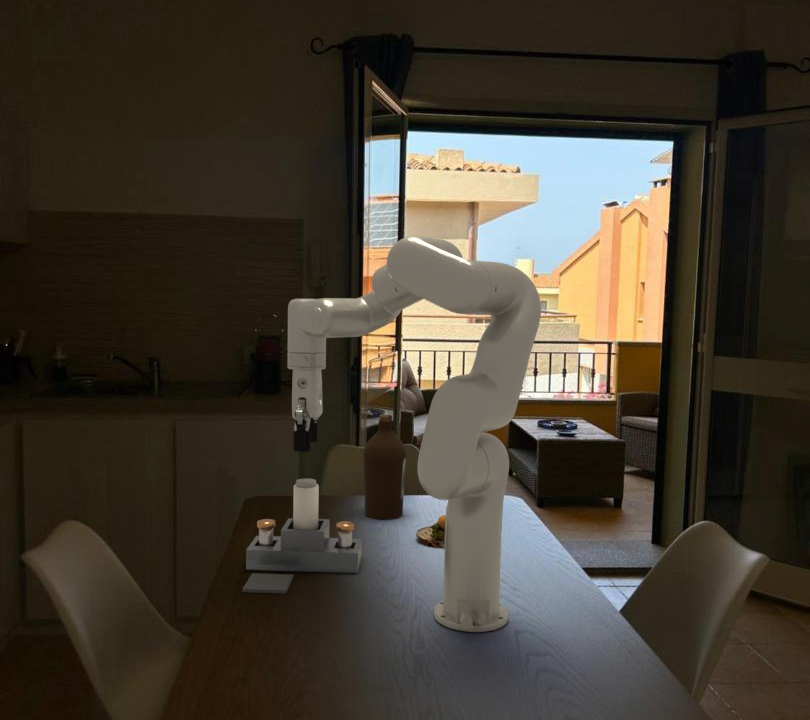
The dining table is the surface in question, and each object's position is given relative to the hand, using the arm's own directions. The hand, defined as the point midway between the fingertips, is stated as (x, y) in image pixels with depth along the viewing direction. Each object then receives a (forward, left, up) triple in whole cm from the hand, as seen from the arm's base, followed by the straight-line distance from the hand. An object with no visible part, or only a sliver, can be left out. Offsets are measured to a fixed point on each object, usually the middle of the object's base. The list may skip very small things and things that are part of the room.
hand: (305, 446), depth 153 cm
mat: (-12, +5, -24) cm, 27 cm away
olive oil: (+37, -14, -24) cm, 46 cm away
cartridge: (0, 0, -20) cm, 20 cm away
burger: (+18, -28, -24) cm, 41 cm away
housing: (0, 0, -24) cm, 24 cm away
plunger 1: (0, +8, -23) cm, 25 cm away
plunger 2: (0, -8, -24) cm, 25 cm away
